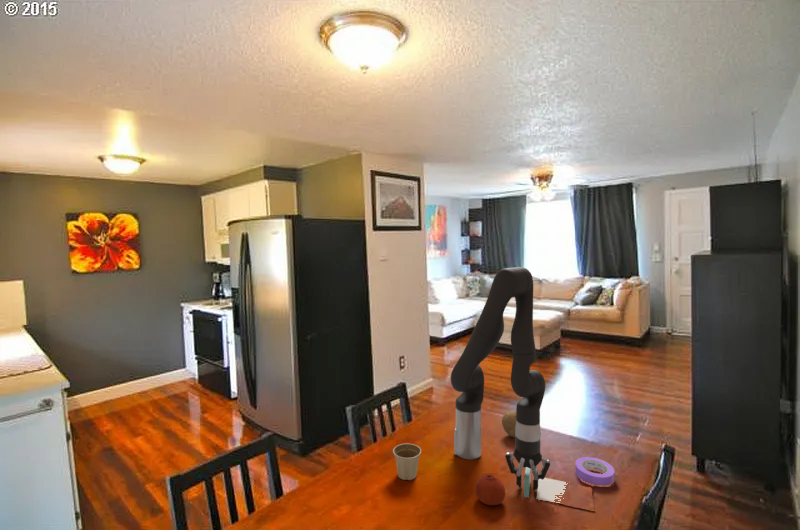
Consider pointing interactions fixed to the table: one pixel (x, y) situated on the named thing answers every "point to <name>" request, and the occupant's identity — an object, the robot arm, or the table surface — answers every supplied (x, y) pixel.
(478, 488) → the fruit
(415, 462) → the flower pot
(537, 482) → the robot arm
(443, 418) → the table surface
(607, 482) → the masking tape
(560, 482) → the mat
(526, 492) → the tile
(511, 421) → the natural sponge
